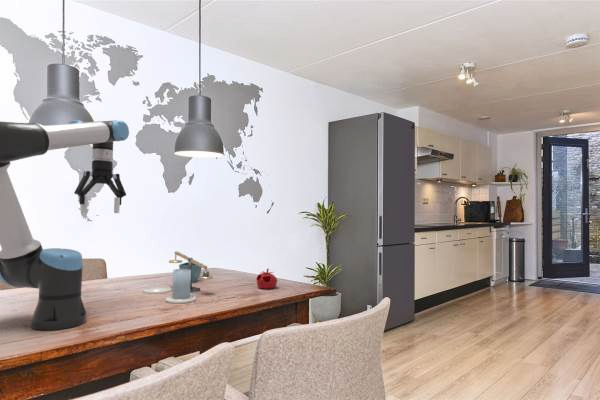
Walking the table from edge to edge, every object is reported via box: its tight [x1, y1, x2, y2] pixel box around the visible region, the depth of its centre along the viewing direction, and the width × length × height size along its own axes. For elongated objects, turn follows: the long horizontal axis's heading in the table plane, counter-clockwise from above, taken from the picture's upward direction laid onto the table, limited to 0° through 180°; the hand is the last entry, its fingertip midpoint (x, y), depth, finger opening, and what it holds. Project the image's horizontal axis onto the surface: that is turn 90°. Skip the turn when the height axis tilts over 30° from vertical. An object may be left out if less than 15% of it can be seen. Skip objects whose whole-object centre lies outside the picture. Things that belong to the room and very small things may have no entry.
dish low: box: [165, 294, 197, 305], centre depth 162 cm, size 12×12×1 cm
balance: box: [168, 251, 214, 294], centre depth 180 cm, size 7×26×17 cm, turn 56°
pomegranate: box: [256, 268, 278, 290], centre depth 191 cm, size 10×10×9 cm
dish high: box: [142, 285, 172, 295], centre depth 178 cm, size 12×12×1 cm
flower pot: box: [178, 261, 203, 283], centre depth 203 cm, size 9×9×9 cm
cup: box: [171, 268, 191, 299], centre depth 162 cm, size 7×7×11 cm
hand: (100, 213), depth 161 cm, fingers open, 13 cm apart
